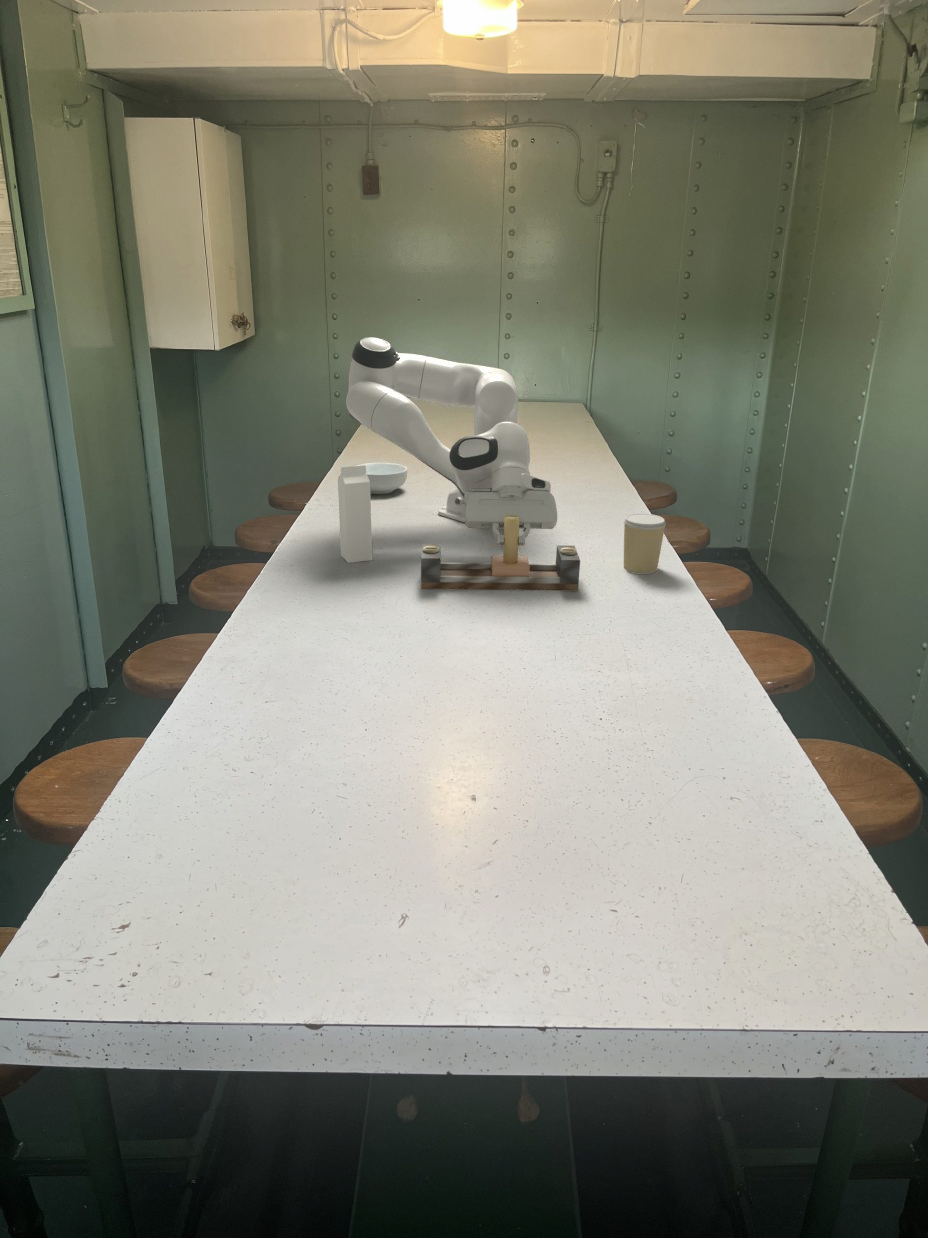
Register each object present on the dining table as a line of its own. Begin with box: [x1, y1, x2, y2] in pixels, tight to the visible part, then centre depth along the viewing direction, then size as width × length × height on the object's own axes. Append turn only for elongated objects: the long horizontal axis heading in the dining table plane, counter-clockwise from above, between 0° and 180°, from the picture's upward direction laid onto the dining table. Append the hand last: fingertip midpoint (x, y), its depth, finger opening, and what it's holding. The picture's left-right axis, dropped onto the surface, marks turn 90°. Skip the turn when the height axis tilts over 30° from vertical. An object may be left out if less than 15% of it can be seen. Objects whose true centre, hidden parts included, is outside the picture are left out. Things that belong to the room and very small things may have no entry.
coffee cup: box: [623, 513, 667, 575], centre depth 202 cm, size 9×9×12 cm
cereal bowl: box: [356, 462, 408, 495], centre depth 265 cm, size 17×17×7 cm
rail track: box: [420, 543, 581, 592], centre depth 193 cm, size 34×10×8 cm, turn 90°
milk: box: [337, 465, 373, 564], centre depth 204 cm, size 6×6×22 cm
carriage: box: [491, 515, 530, 577], centre depth 191 cm, size 8×7×13 cm
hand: (511, 544), depth 191 cm, fingers closed on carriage, 3 cm apart
